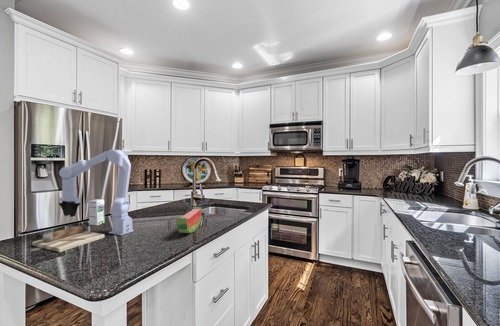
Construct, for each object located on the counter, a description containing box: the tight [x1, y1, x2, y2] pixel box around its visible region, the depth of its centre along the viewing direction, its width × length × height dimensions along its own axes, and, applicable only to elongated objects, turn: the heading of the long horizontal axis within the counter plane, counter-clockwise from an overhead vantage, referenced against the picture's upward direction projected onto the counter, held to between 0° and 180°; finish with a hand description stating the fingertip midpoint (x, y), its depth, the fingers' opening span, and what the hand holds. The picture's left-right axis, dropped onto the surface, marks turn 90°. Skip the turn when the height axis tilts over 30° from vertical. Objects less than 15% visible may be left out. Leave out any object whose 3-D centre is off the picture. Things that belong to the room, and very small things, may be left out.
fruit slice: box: [176, 207, 202, 234], centre depth 130 cm, size 26×6×10 cm, turn 175°
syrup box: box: [88, 198, 106, 226], centre depth 143 cm, size 6×6×14 cm
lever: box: [42, 223, 87, 242], centre depth 115 cm, size 19×4×3 cm, turn 158°
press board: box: [32, 230, 105, 253], centre depth 114 cm, size 20×20×2 cm
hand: (69, 215), depth 124 cm, fingers open, 4 cm apart
